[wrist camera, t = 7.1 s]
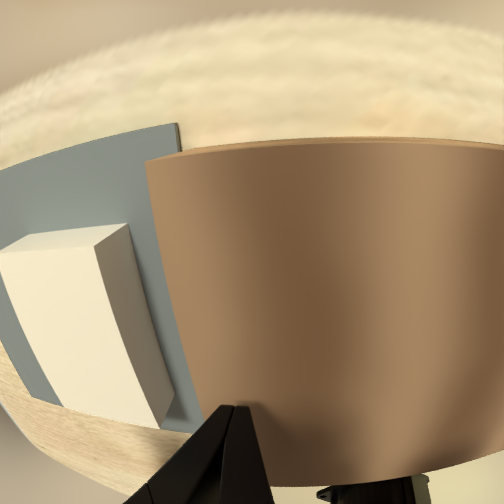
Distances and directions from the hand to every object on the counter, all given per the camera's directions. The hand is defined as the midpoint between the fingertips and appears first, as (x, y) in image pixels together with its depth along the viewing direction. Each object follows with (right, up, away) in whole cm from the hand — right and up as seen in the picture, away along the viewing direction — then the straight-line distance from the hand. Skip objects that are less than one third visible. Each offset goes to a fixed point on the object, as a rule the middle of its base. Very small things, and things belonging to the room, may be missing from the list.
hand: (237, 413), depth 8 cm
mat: (-9, +1, +6) cm, 11 cm away
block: (+9, +2, +3) cm, 10 cm away
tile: (-7, +1, +4) cm, 8 cm away
